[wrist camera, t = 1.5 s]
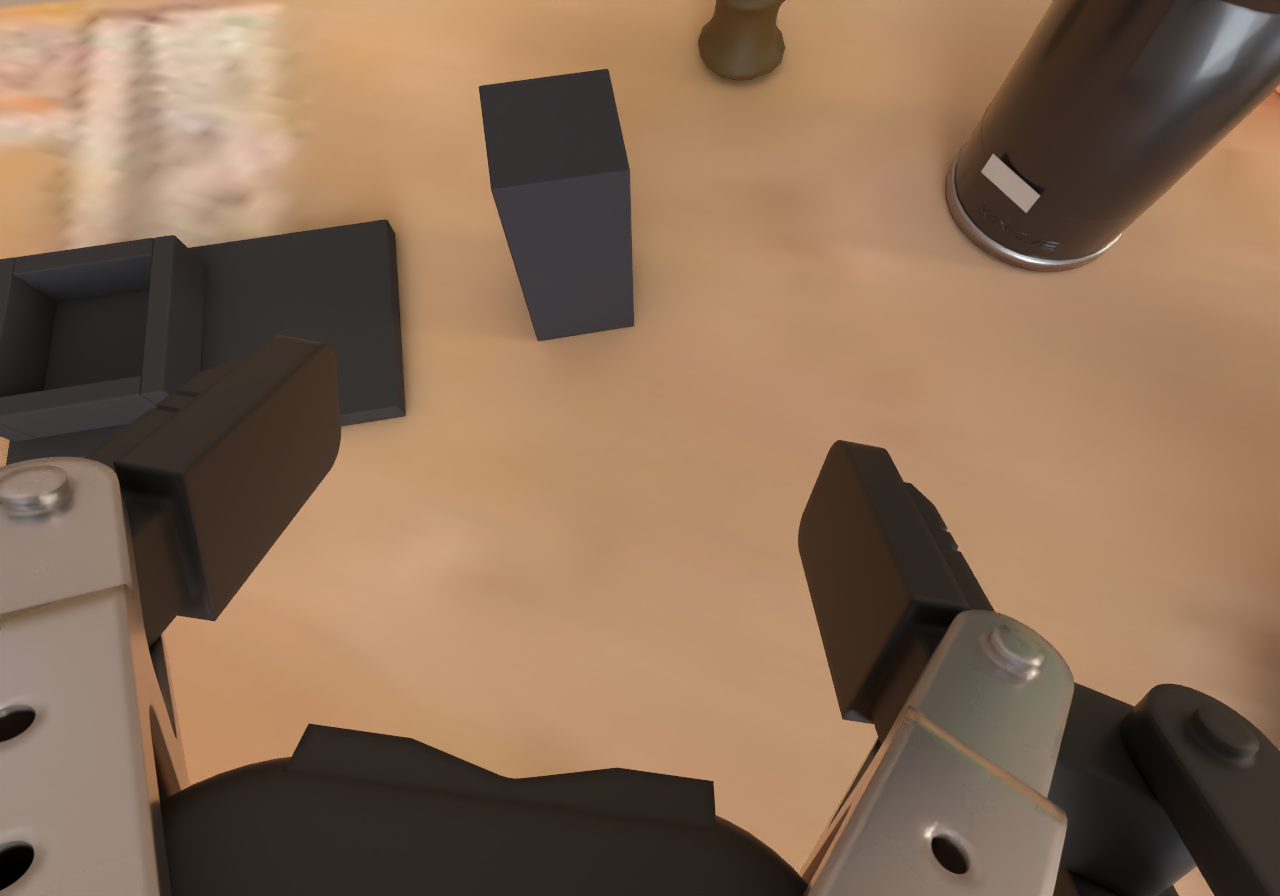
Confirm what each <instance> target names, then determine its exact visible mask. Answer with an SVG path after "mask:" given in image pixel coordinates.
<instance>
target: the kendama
mask: <svg viewBox="0 0 1280 896" xmlns="http://www.w3.org/2000/svg"><path fill="white" fill-rule="evenodd" d="M784 1H785V0H716V7H715V12H714V16H713V18H712V19H711V21H709V22H708V23H707V24H706V25H705V26H704V27H703V29H702V31H701V34H700V37H699V40H698V45H699V51H700V56H701V58H702V59H703V61H704V62H705V64H706V65H707V67H708V68H709V69H711V70H712V71H714V72H715V73H717V74H718V75H720V76H721V77H725V78H730V79H734V80H746V79H754V78H757V77H759V76H762V75H764V74H767V73H770V72H771V71H772V70H773V69H774V68H776V67H777V66H778V65H779V64H780V63H781V60H782V57H783V54H784V50H785V45H784V41H783V37H782V33H781V31H780V30H779V29H778V27H777V26H776V18H777V12H778V9H779V7H780V5H781V4H782V3H783V2H784Z"/></svg>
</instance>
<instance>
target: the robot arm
mask: <svg viewBox="0 0 1280 896" xmlns="http://www.w3.org/2000/svg"><path fill="white" fill-rule="evenodd" d="M1279 85H1280V0H1053V1H1052V3H1051V4H1050V6H1049V8H1048V9H1047V11H1046V13H1045V14H1044V16H1043V18H1042V19H1041V21H1040V23H1039V24H1038V26H1037V28H1036V29H1035V31H1034V33H1033V34H1032V36H1031V38H1030V39H1029V41H1028V43H1027V44H1026V46H1025V48H1024V49H1023V51H1022V53H1021V54H1020V56H1019V58H1018V59H1017V61H1016V63H1015V64H1014V66H1013V68H1012V69H1011V71H1010V73H1009V74H1008V76H1007V78H1006V79H1005V81H1004V83H1003V84H1002V86H1001V88H1000V89H999V91H998V93H997V94H996V96H995V98H994V99H993V101H992V103H991V104H990V105H989V107H988V109H987V110H986V112H985V114H984V115H983V117H982V119H981V120H980V122H979V124H978V125H977V127H976V129H975V130H974V132H973V134H972V135H971V137H970V139H969V140H968V142H967V143H966V144H965V145H964V146H963V147H962V149H961V150H960V152H959V153H958V155H957V157H956V159H955V160H954V162H953V164H952V165H951V168H950V170H949V173H948V176H947V182H946V195H947V201H948V205H949V208H950V211H951V213H952V215H953V217H954V219H955V221H956V222H957V224H958V225H959V227H960V228H961V229H962V231H963V232H964V233H965V234H966V235H967V236H968V238H970V239H971V240H972V241H973V242H974V243H975V244H976V245H977V246H979V247H980V248H981V249H983V250H984V251H986V252H987V253H989V254H990V255H992V256H994V257H996V258H998V259H1000V260H1002V261H1004V262H1006V263H1009V264H1012V265H1015V266H1018V267H1021V268H1026V269H1030V270H1038V271H1062V270H1068V269H1073V268H1077V267H1080V266H1083V265H1085V264H1087V263H1089V262H1091V261H1093V260H1095V259H1096V258H1098V257H1099V256H1100V255H1102V254H1103V253H1104V252H1105V251H1106V250H1107V249H1108V248H1109V247H1110V246H1111V245H1112V244H1114V243H1115V242H1116V241H1117V239H1118V238H1119V237H1120V236H1121V234H1122V233H1123V231H1124V230H1125V229H1126V228H1128V227H1129V226H1130V225H1131V224H1132V223H1133V222H1134V221H1135V220H1136V219H1137V218H1138V217H1139V216H1140V215H1141V214H1143V213H1144V212H1145V211H1146V210H1147V209H1148V208H1149V207H1150V206H1151V205H1152V204H1154V203H1155V202H1156V201H1157V200H1158V199H1159V198H1160V197H1161V196H1162V195H1163V194H1164V193H1165V192H1167V191H1168V190H1169V189H1170V188H1171V187H1172V186H1173V185H1174V184H1175V183H1176V182H1177V181H1178V180H1179V179H1180V178H1181V177H1183V176H1184V175H1185V174H1186V173H1187V172H1188V171H1189V170H1190V169H1191V168H1192V167H1193V166H1194V165H1195V164H1196V163H1197V162H1199V161H1200V160H1201V159H1202V158H1203V157H1204V156H1205V155H1206V154H1207V153H1208V152H1209V151H1210V150H1211V149H1212V148H1213V147H1214V146H1216V145H1217V144H1218V143H1219V142H1220V141H1221V140H1222V139H1223V138H1224V137H1225V136H1226V135H1227V134H1228V133H1229V132H1230V131H1232V130H1233V129H1234V128H1235V127H1236V126H1237V125H1238V124H1239V123H1240V122H1241V121H1242V120H1243V119H1244V118H1245V117H1246V116H1248V115H1249V114H1250V113H1251V112H1252V111H1253V110H1254V109H1255V108H1256V107H1257V106H1258V105H1259V104H1260V103H1261V102H1262V101H1263V100H1265V99H1266V98H1267V97H1268V96H1269V95H1270V94H1271V93H1272V92H1273V91H1274V90H1275V89H1276V88H1277V87H1278V86H1279ZM340 440H341V422H340V406H339V390H338V373H337V359H336V354H335V351H334V349H333V347H332V346H331V345H329V344H326V343H320V342H315V341H310V340H304V339H299V338H294V337H288V336H283V335H276V336H274V337H272V338H271V339H269V340H268V341H267V342H266V343H264V344H263V345H262V346H260V347H259V348H258V349H257V350H255V351H254V352H253V353H251V354H250V355H249V356H248V357H246V358H245V359H244V360H237V359H235V360H232V361H229V362H227V363H224V364H221V365H218V366H216V367H213V368H210V369H207V370H204V371H202V372H200V373H198V374H197V375H196V376H194V377H193V378H192V379H190V380H189V381H187V382H186V383H185V384H183V385H182V386H181V387H179V388H178V389H177V390H176V394H173V393H171V394H170V395H168V396H167V397H166V398H164V399H163V400H162V401H160V402H159V403H157V404H156V408H155V409H149V410H148V411H147V412H145V413H144V414H143V415H141V416H140V417H138V418H137V419H136V420H134V421H133V422H132V423H130V424H129V425H128V426H126V427H125V428H123V429H122V430H121V431H119V432H118V433H117V434H115V435H114V436H113V437H111V438H110V439H108V440H107V441H106V442H104V443H103V444H102V445H100V446H99V447H98V448H96V449H95V450H93V451H92V452H91V453H89V454H88V455H87V456H85V457H84V458H78V457H48V458H38V459H32V460H27V461H21V462H17V463H13V464H9V465H6V466H3V467H0V896H1179V895H1178V893H1177V892H1176V890H1175V888H1174V886H1173V884H1174V883H1175V882H1177V881H1178V880H1179V879H1181V878H1182V877H1183V876H1184V875H1186V874H1187V873H1188V872H1190V871H1191V870H1192V869H1194V868H1195V867H1196V866H1197V867H1198V868H1199V870H1200V872H1201V873H1202V875H1203V877H1204V878H1205V880H1206V882H1207V884H1208V885H1209V887H1210V889H1211V890H1212V892H1213V894H1214V895H1215V896H1280V752H1279V751H1278V749H1277V748H1276V747H1275V746H1274V745H1273V744H1272V743H1271V741H1270V740H1269V739H1268V738H1267V737H1266V736H1265V735H1264V734H1263V733H1262V732H1261V731H1260V730H1259V729H1257V728H1256V727H1255V726H1254V725H1253V724H1252V723H1250V722H1249V721H1248V720H1247V719H1245V718H1244V717H1243V716H1241V715H1240V714H1239V713H1237V712H1236V711H1234V710H1233V709H1231V708H1230V707H1228V706H1227V705H1225V704H1223V703H1222V702H1220V701H1218V700H1216V699H1214V698H1213V697H1211V696H1208V695H1206V694H1204V693H1202V692H1200V691H1197V690H1194V689H1192V688H1189V687H1185V686H1181V685H1176V684H1161V685H1157V686H1155V687H1154V688H1152V689H1151V690H1150V691H1149V692H1148V693H1147V694H1146V695H1145V696H1144V698H1143V699H1142V700H1141V701H1140V702H1139V703H1138V704H1137V705H1136V706H1135V707H1134V706H1132V705H1129V704H1127V703H1124V702H1122V701H1119V700H1117V699H1114V698H1112V697H1109V696H1107V695H1105V694H1102V693H1100V692H1097V691H1095V690H1092V689H1090V688H1087V687H1085V686H1082V685H1080V684H1077V683H1075V682H1074V679H1073V676H1072V673H1071V671H1070V668H1069V667H1068V665H1067V663H1066V662H1065V660H1064V659H1063V657H1062V656H1061V655H1060V654H1059V652H1058V651H1057V650H1056V649H1055V648H1054V647H1053V646H1052V645H1051V644H1050V643H1049V642H1048V641H1047V640H1045V639H1044V638H1043V637H1042V636H1041V635H1039V634H1038V633H1037V632H1035V631H1034V630H1032V629H1031V628H1029V627H1028V626H1026V625H1024V624H1023V623H1021V622H1019V621H1017V620H1015V619H1013V618H1011V617H1008V616H1006V615H1003V614H1000V613H997V612H995V611H994V609H993V608H992V606H991V604H990V602H989V601H988V599H987V597H986V595H985V594H984V592H983V590H982V588H981V587H980V585H979V583H978V581H977V579H976V578H975V576H974V574H973V572H972V571H971V569H970V567H969V565H968V564H967V562H966V560H965V558H964V557H963V555H962V553H961V552H959V551H957V548H958V546H957V544H956V543H955V541H954V539H953V537H952V536H951V534H950V532H947V531H946V530H947V527H946V525H945V523H944V521H943V520H942V518H941V516H940V514H939V513H938V511H937V509H936V507H935V506H934V505H933V504H932V503H931V502H930V501H929V500H928V499H927V498H926V497H925V496H924V495H923V494H922V493H921V492H920V491H918V490H917V489H916V488H915V487H914V486H913V485H912V484H911V483H906V482H903V480H902V478H901V476H900V474H899V472H898V470H897V468H896V467H895V465H894V463H893V461H892V459H891V457H890V455H889V453H888V452H887V450H885V449H884V448H880V447H875V446H869V445H864V444H858V443H853V442H848V441H842V440H838V441H836V442H835V443H834V444H833V445H832V447H831V448H830V450H829V452H828V454H827V457H826V459H825V462H824V464H823V466H822V469H821V471H820V474H819V476H818V479H817V481H816V483H815V486H814V488H813V491H812V493H811V495H810V498H809V500H808V503H807V505H806V507H805V510H804V512H803V515H802V518H801V522H800V527H799V535H798V546H799V553H800V556H801V560H802V564H803V568H804V572H805V576H806V580H807V583H808V587H809V591H810V595H811V599H812V603H813V607H814V611H815V614H816V618H817V622H818V626H819V630H820V634H821V638H822V641H823V645H824V649H825V653H826V657H827V661H828V665H829V668H830V672H831V676H832V680H833V684H834V688H835V692H836V696H837V699H838V703H839V707H840V711H841V715H842V719H844V720H850V721H857V722H864V723H870V724H874V725H875V728H876V731H877V735H878V738H877V740H876V741H875V743H874V745H873V746H872V748H871V749H870V751H869V753H868V754H867V756H866V758H865V760H864V761H863V763H862V765H861V767H860V768H859V770H858V772H857V774H856V775H855V777H854V779H853V781H852V782H851V784H850V786H849V788H848V789H847V791H846V793H845V795H844V796H843V798H842V800H841V802H840V804H839V805H838V807H837V809H836V811H835V812H834V814H833V816H832V818H831V819H830V821H829V823H828V825H827V826H826V828H825V830H824V832H823V833H822V835H821V837H820V839H819V840H818V842H817V844H816V846H815V847H814V849H813V851H812V852H811V854H810V856H809V858H808V859H807V861H806V862H805V864H804V866H803V867H802V869H801V871H800V872H799V874H798V873H797V872H796V871H795V870H794V869H793V868H792V867H791V866H790V865H789V864H788V863H787V862H786V861H785V860H784V859H782V858H781V857H780V856H779V855H778V854H777V853H776V852H775V851H773V850H772V849H771V848H770V847H769V846H767V845H766V844H764V843H763V842H762V841H760V840H759V839H757V838H756V837H755V836H753V835H752V834H750V833H749V832H747V831H745V830H744V829H742V828H740V827H738V826H737V825H735V824H733V823H731V822H729V821H728V820H725V819H723V818H721V817H718V816H716V815H715V800H714V785H713V781H707V780H700V779H693V778H686V777H679V776H672V775H665V774H658V773H651V772H644V771H637V770H630V769H623V768H610V769H601V770H593V771H584V772H575V773H566V774H557V775H548V776H539V777H530V778H520V779H513V778H506V777H503V776H500V775H498V774H495V773H493V772H491V771H488V770H486V769H483V768H481V767H479V766H476V765H474V764H472V763H469V762H467V761H464V760H462V759H460V758H457V757H455V756H452V755H450V754H448V753H445V752H443V751H441V750H438V749H436V748H433V747H431V746H429V745H426V744H424V743H422V742H419V741H417V740H414V739H412V738H406V737H399V736H392V735H385V734H378V733H371V732H364V731H357V730H350V729H343V728H336V727H329V726H322V725H315V724H308V726H307V728H306V730H305V732H304V734H303V736H302V738H301V740H300V742H299V744H298V746H297V748H296V750H295V751H294V753H293V755H292V757H287V758H278V759H273V760H268V761H263V762H259V763H254V764H249V765H246V766H243V767H240V768H236V769H233V770H230V771H227V772H224V773H220V774H218V775H215V776H213V777H211V778H208V779H206V780H203V781H201V782H198V783H196V784H194V785H191V786H190V781H189V777H188V773H187V768H186V763H185V757H184V752H183V746H182V739H181V733H180V727H179V721H178V715H177V709H176V703H175V697H174V690H173V684H172V678H171V672H170V666H169V660H168V654H167V648H166V644H165V640H164V637H163V631H164V630H165V629H166V628H167V627H168V625H169V624H170V623H171V622H172V621H173V619H174V618H175V617H176V616H177V615H178V616H184V617H191V618H197V619H204V620H210V621H215V620H216V619H217V618H218V616H219V615H220V614H221V613H222V611H223V610H224V609H225V607H226V606H227V605H228V603H229V602H230V601H231V599H232V598H233V597H234V595H235V594H236V593H237V592H238V590H239V589H240V588H241V586H242V585H243V584H244V582H245V581H246V580H247V578H248V577H249V576H250V574H251V573H252V572H253V571H254V569H255V568H256V567H257V565H258V564H259V563H260V561H261V560H262V559H263V557H264V556H265V555H266V553H267V552H268V551H269V550H270V548H271V547H272V546H273V544H274V543H275V542H276V540H277V539H278V538H279V536H280V535H281V534H282V533H283V531H284V530H285V529H286V527H287V526H288V525H289V523H290V522H291V521H292V519H293V518H294V517H295V515H296V514H297V513H298V512H299V510H300V509H301V508H302V506H303V505H304V504H305V502H306V501H307V500H308V498H309V497H310V496H311V494H312V493H313V492H314V491H315V489H316V488H317V487H318V485H319V484H320V483H321V481H322V480H323V479H324V477H325V476H326V475H327V473H328V472H329V471H330V469H331V468H332V466H333V464H334V462H335V460H336V457H337V454H338V450H339V446H340Z"/></svg>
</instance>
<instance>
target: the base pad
mask: <svg viewBox="0 0 1280 896" xmlns="http://www.w3.org/2000/svg"><path fill="white" fill-rule="evenodd" d="M276 335H283V336H288V337H294V338H299V339H304V340H310V341H315V342H320V343H326V344H329V345H331V346H332V347H333V349H334V351H335V354H336V359H337V373H338V390H339V406H340V422H341V426H346V425H352V424H358V423H364V422H371V421H377V420H383V419H389V418H396V417H402V416H405V398H404V381H403V364H402V348H401V331H400V314H399V297H398V280H397V263H396V246H395V233H394V231H393V229H392V228H391V226H390V224H389V222H388V220H379V221H372V222H365V223H359V224H352V225H345V226H338V227H331V228H324V229H317V230H310V231H303V232H296V233H289V234H282V235H275V236H268V237H261V238H254V239H248V240H241V241H234V242H227V243H220V244H213V245H206V246H199V247H192V248H187V247H186V246H185V245H184V244H183V243H182V242H181V241H180V240H179V239H178V238H177V237H176V236H174V235H171V236H164V237H157V238H148V239H141V240H134V241H127V242H120V243H113V244H106V245H99V246H92V247H85V248H78V249H71V250H64V251H57V252H50V253H43V254H37V255H30V256H23V257H16V258H7V259H0V436H1V437H4V438H6V439H9V440H10V443H9V450H8V456H7V462H6V465H9V464H13V463H17V462H21V461H27V460H32V459H38V458H48V457H78V458H84V457H85V456H87V455H88V454H89V453H91V452H92V451H93V450H95V449H96V448H98V447H99V446H100V445H102V444H103V443H104V442H106V441H107V440H108V439H110V438H111V437H113V436H114V435H115V434H117V433H118V432H119V431H121V430H122V429H123V428H125V427H126V426H128V425H129V424H130V423H132V422H133V421H134V420H136V419H137V418H138V417H140V416H141V415H143V414H144V413H145V412H147V411H148V410H149V409H155V408H156V404H157V403H159V402H160V401H162V400H163V399H164V398H166V397H167V396H168V395H170V394H171V393H173V394H176V390H177V389H178V388H179V387H181V386H182V385H183V384H185V383H186V382H187V381H189V380H190V379H192V378H193V377H194V376H196V375H197V374H198V373H200V372H202V371H204V370H207V369H210V368H213V367H216V366H218V365H221V364H224V363H227V362H229V361H232V360H235V359H237V360H244V359H245V358H246V357H248V356H249V355H250V354H251V353H253V352H254V351H255V350H257V349H258V348H259V347H260V346H262V345H263V344H264V343H266V342H267V341H268V340H269V339H271V338H272V337H274V336H276Z"/></svg>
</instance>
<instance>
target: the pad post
mask: <svg viewBox="0 0 1280 896" xmlns="http://www.w3.org/2000/svg"><path fill="white" fill-rule="evenodd" d="M479 92H480V100H481V108H482V117H483V125H484V133H485V141H486V149H487V158H488V166H489V174H490V182H491V190H492V193H493V197H494V200H495V203H496V206H497V210H498V213H499V216H500V219H501V223H502V226H503V229H504V232H505V236H506V239H507V242H508V245H509V249H510V252H511V255H512V258H513V262H514V265H515V268H516V271H517V275H518V278H519V281H520V284H521V288H522V291H523V294H524V297H525V301H526V304H527V307H528V310H529V314H530V317H531V320H532V323H533V327H534V330H535V333H536V336H537V340H538V341H541V340H547V339H554V338H560V337H567V336H573V335H579V334H586V333H592V332H599V331H605V330H611V329H618V328H624V327H631V326H634V312H633V274H632V236H631V198H630V169H629V164H628V160H627V155H626V150H625V145H624V141H623V136H622V131H621V126H620V122H619V117H618V112H617V108H616V103H615V98H614V93H613V89H612V84H611V79H610V75H609V70H608V69H603V70H595V71H588V72H580V73H573V74H565V75H558V76H551V77H543V78H536V79H528V80H521V81H513V82H506V83H498V84H491V85H484V86H479Z"/></svg>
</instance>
